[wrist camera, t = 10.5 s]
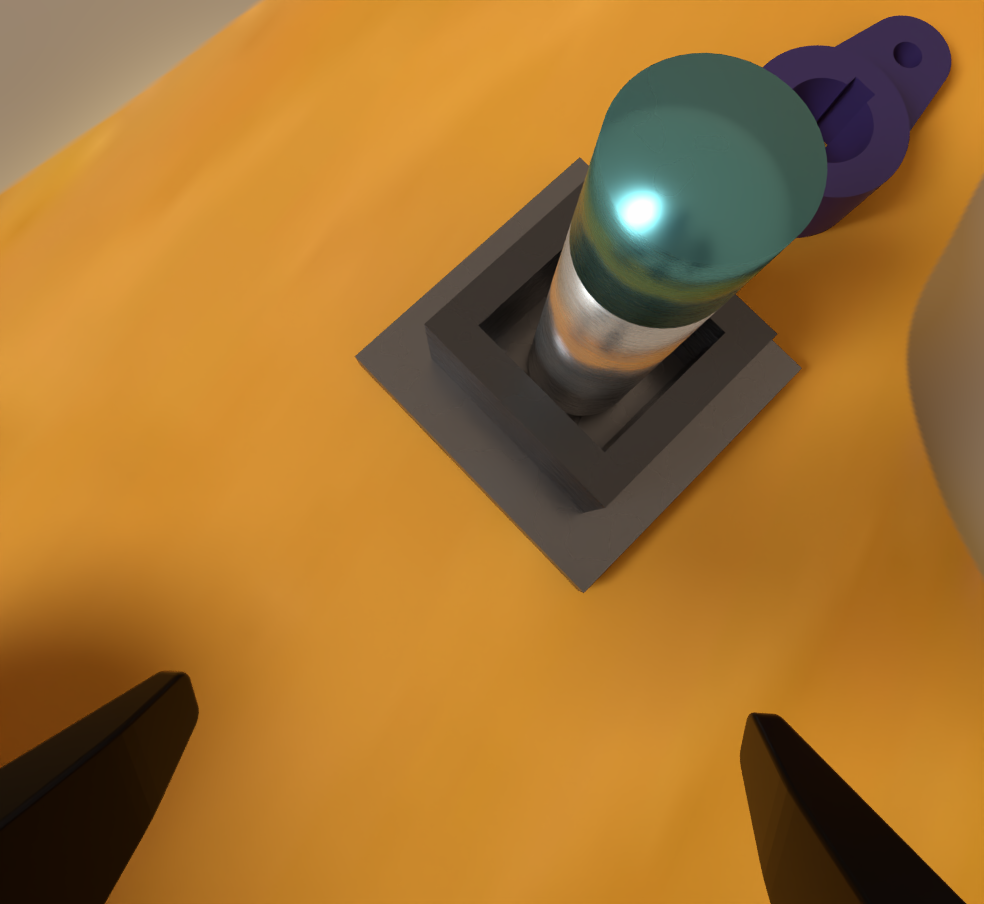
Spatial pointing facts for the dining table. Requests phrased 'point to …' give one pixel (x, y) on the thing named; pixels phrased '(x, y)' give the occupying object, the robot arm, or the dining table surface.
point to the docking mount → (540, 421)
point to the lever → (865, 104)
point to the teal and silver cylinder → (673, 220)
